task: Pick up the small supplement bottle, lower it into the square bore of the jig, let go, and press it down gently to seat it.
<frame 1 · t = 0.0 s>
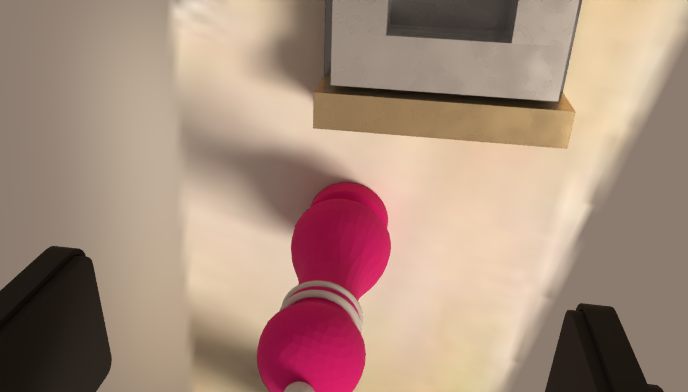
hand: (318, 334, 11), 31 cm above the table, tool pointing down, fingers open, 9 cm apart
pepper mill: (349, 215, 46), on the table
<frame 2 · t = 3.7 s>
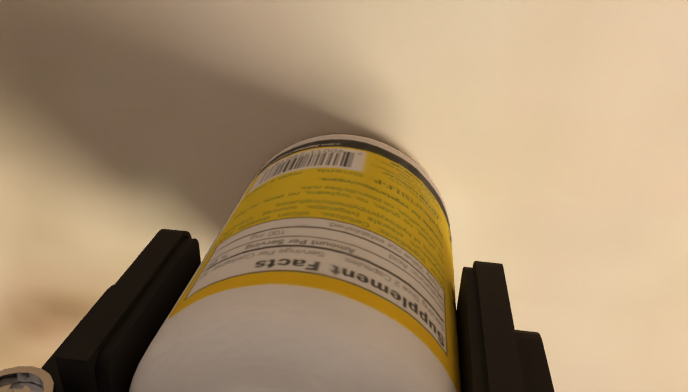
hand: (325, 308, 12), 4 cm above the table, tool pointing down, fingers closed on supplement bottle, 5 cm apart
supplement bottle: (349, 220, 15), on the table, touching gripper
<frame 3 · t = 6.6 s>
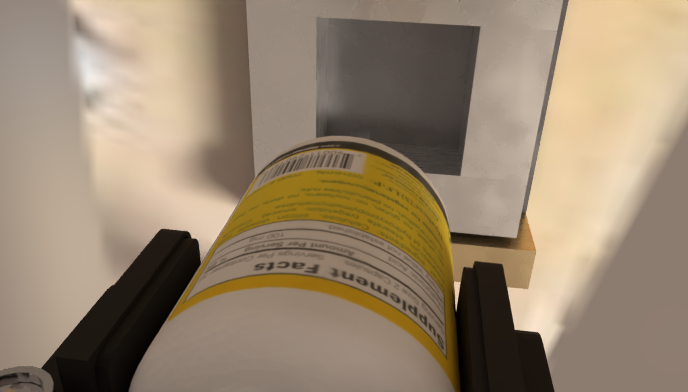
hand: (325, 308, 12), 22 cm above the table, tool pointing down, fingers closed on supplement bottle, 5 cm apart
jig: (397, 74, 32), on the table
supplement bottle: (348, 222, 15), point 18 cm above the table, touching gripper
when the fingers open (6 cm above the table, at t = 9.6 s): supplement bottle drops 1 cm, resting on jig.
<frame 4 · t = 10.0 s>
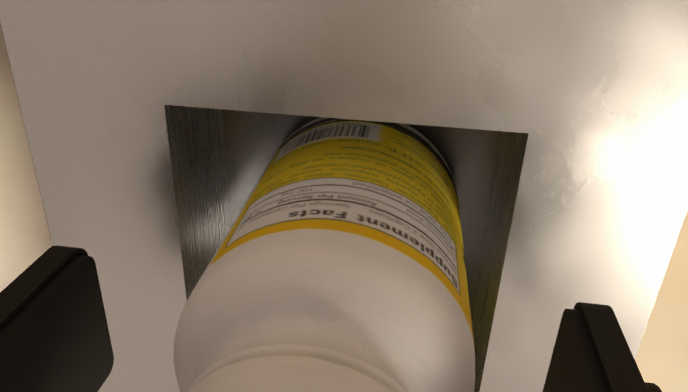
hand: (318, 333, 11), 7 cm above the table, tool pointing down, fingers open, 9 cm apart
jig: (358, 185, 17), on the table
supplement bottle: (362, 194, 17), point 1 cm above the table, touching jig
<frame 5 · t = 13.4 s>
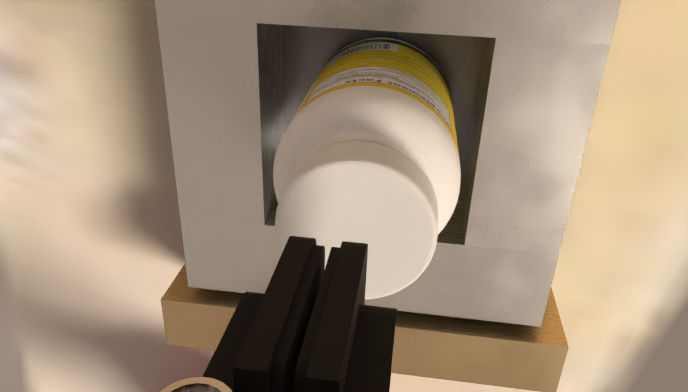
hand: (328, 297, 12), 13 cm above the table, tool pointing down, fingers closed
jig: (379, 99, 24), on the table
supplement bottle: (382, 102, 23), point 1 cm above the table, touching jig
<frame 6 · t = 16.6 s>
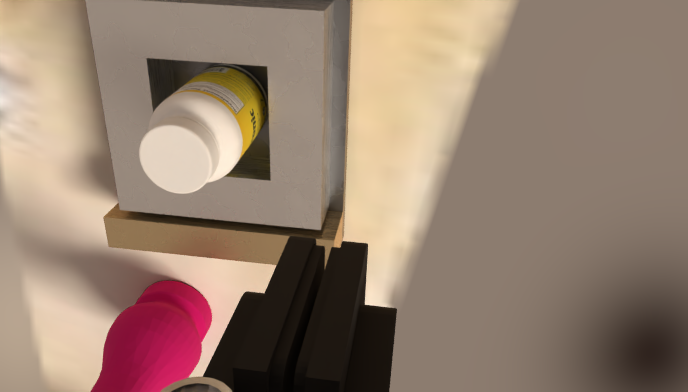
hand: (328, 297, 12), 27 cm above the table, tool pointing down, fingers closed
jig: (233, 99, 40), on the table
supplement bottle: (232, 101, 39), point 1 cm above the table, touching jig
pepper mill: (178, 308, 49), on the table
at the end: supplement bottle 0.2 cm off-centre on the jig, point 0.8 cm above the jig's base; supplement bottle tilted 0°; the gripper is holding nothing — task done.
